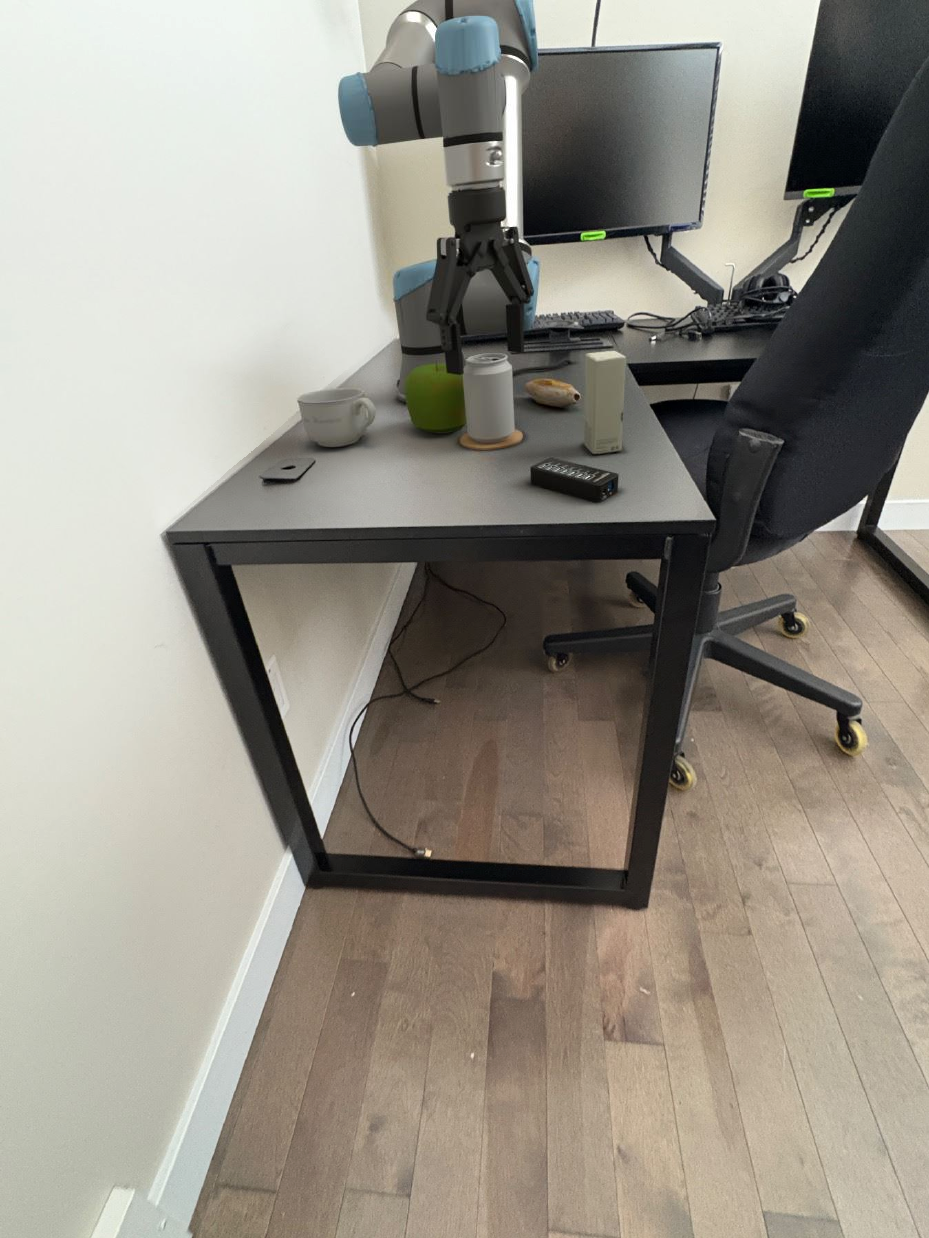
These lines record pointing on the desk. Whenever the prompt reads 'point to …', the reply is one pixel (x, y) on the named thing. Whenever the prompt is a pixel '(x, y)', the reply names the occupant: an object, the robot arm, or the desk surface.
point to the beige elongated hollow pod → (552, 392)
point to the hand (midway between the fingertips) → (486, 362)
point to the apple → (435, 399)
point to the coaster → (472, 444)
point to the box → (604, 401)
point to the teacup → (336, 415)
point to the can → (489, 397)
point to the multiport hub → (574, 479)
